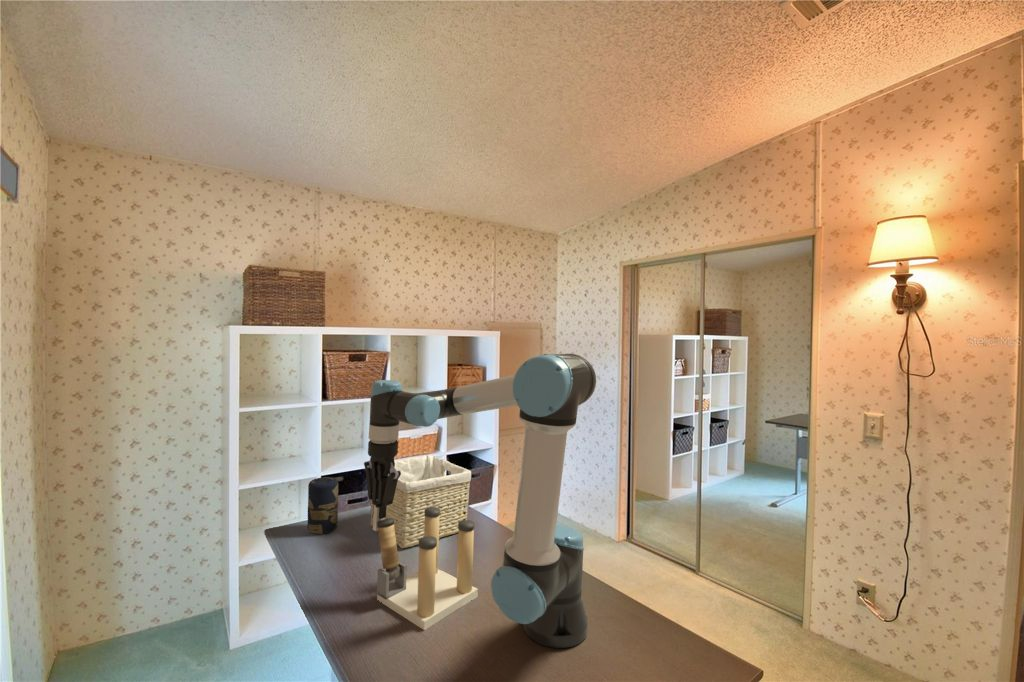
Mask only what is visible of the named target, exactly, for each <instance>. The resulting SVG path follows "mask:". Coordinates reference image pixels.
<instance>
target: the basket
mask: <svg viewBox="0 0 1024 682" xmlns="http://www.w3.org/2000/svg"><path fill="white" fill-rule="evenodd" d="M394 462H395V469H396V470H397V471H400V472H401V475H400V477H399V478H398V482H397V486H396V490H395V495H394V499H393V503H392V504H390V505H387V507H386V517H385V519H389V518H394V528H395V536H396V544H397V546H399V548H401V549H404V548H405V549H406V548H411V547H414V546H416V545H419V539H420V538H422V537H424V529H425V509H426V508H430V507H436V508H439V509H440V518H439V539H441V538H443V537H444V538H445V537H447V536H450V535H455V534H458V523H459V522H460V521H463V520H468V508H469V507H468V506H469V498H470V487H471V485H470V483H471V479H472V471H471V470H470V469H467V468H466V467H465V468H464V467H462V466H459V465H456V464H455V463H451V462H450V461H448V460H446V459H444V458H440V457H437V456H435V455H429V454H426V455H425V454H424V455H422V456H421V457H420V456H416V457H409V458H405V459H401V460H397V461H396V460H394ZM446 471H448V472H450V474H449V475H445V473H446ZM372 494H373V493H372ZM373 505H374V504H373V503H372V500H370V524H369V525H370V526H371V527H373V517H374V515H373Z"/></svg>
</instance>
